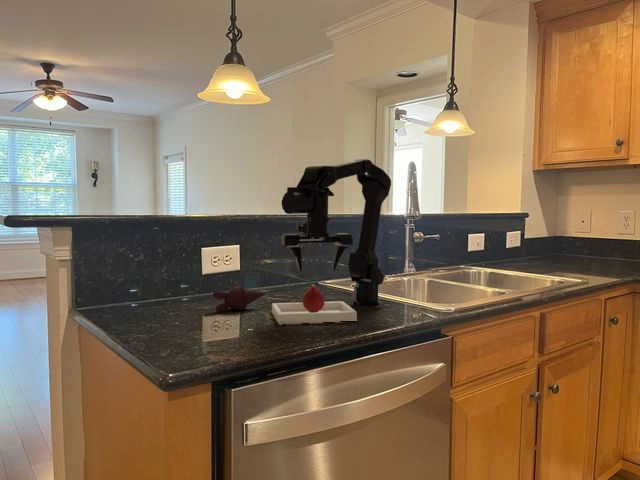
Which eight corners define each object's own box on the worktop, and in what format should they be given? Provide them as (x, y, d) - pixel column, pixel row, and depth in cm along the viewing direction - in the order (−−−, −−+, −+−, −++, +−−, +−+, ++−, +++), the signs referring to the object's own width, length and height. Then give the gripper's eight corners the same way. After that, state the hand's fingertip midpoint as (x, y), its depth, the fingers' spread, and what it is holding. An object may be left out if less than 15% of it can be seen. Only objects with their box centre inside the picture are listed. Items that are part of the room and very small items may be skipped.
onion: (327, 313, 126) (327, 283, 126) (320, 318, 121) (320, 287, 120) (306, 311, 128) (307, 282, 128) (299, 315, 123) (299, 285, 122)
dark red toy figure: (258, 282, 139) (208, 290, 131) (267, 280, 132) (215, 288, 125) (262, 306, 138) (212, 315, 131) (272, 304, 132) (219, 314, 124)
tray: (342, 310, 133) (342, 301, 133) (356, 321, 121) (356, 312, 120) (271, 312, 129) (272, 303, 128) (278, 324, 116) (279, 314, 116)
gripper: (342, 212, 136) (341, 265, 138) (278, 212, 132) (278, 267, 133) (354, 213, 125) (353, 271, 127) (284, 213, 121) (284, 274, 122)
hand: (317, 271), depth 128 cm, fingers open, 9 cm apart
